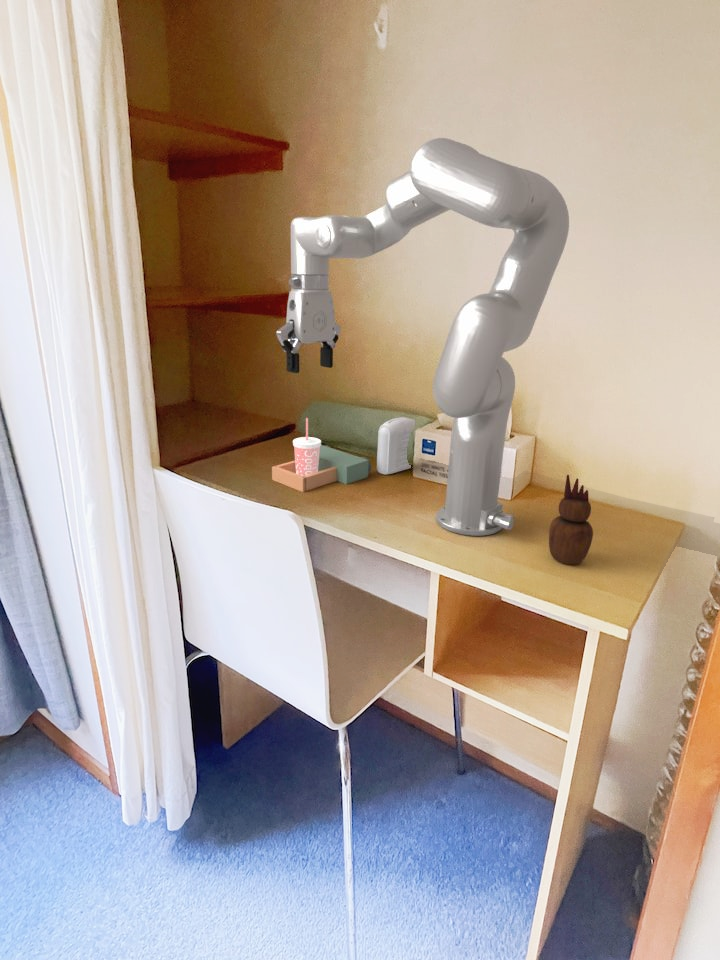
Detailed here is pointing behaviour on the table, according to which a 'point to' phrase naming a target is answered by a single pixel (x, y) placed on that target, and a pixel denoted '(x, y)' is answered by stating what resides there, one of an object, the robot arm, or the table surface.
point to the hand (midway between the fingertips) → (310, 369)
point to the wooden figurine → (571, 527)
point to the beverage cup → (306, 454)
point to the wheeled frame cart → (324, 470)
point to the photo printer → (394, 445)
